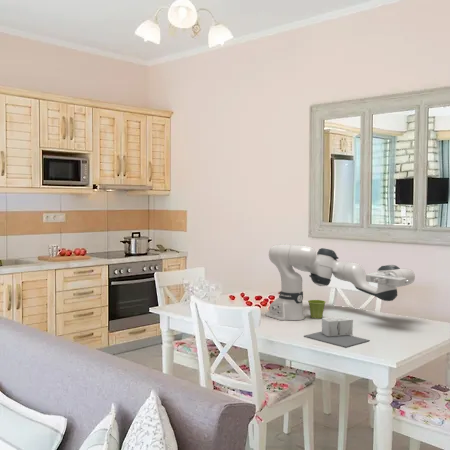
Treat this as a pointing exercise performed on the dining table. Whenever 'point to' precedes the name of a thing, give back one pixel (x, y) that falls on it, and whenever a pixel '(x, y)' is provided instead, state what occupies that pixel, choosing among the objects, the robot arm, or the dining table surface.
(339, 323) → the supplement box
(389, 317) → the dining table surface
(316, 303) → the plant pot
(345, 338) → the mat
